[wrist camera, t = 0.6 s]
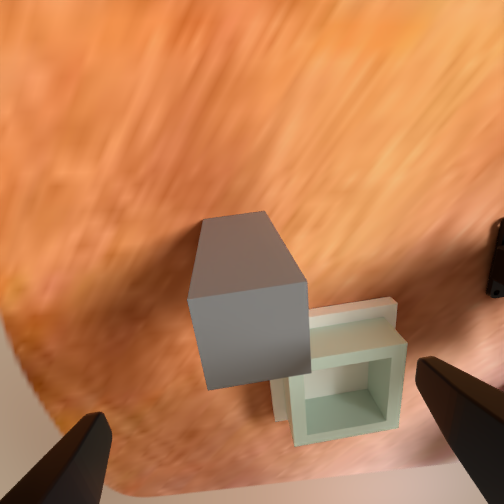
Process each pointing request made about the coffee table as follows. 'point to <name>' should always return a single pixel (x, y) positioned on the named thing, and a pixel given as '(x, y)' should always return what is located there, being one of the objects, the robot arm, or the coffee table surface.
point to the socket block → (346, 374)
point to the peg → (248, 303)
